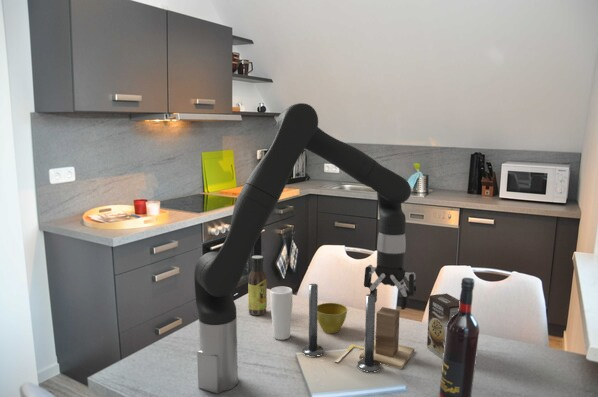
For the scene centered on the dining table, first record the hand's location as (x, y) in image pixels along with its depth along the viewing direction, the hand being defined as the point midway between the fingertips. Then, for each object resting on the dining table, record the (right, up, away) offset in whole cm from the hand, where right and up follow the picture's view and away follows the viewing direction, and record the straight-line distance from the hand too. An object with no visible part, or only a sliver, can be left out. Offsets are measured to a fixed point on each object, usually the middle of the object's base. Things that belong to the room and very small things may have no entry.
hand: (388, 305), depth 133 cm
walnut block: (0, -14, +2) cm, 14 cm away
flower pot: (-15, -12, +19) cm, 27 cm away
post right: (-6, -16, -4) cm, 17 cm away
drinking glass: (-30, -13, +14) cm, 36 cm away
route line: (-10, -15, +2) cm, 18 cm away
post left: (-21, -14, +4) cm, 26 cm away
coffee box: (+17, -15, +4) cm, 22 cm away
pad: (0, -15, +3) cm, 15 cm away
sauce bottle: (-39, -10, +32) cm, 52 cm away
